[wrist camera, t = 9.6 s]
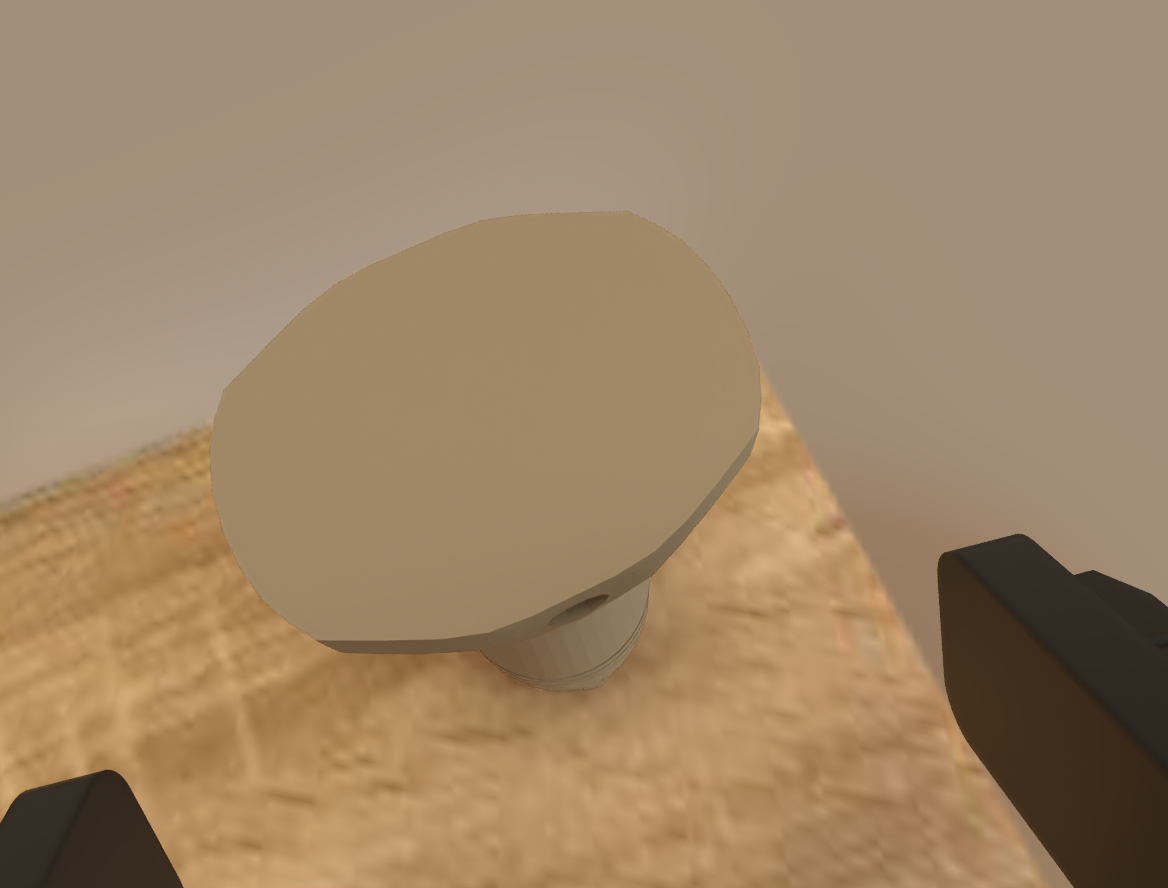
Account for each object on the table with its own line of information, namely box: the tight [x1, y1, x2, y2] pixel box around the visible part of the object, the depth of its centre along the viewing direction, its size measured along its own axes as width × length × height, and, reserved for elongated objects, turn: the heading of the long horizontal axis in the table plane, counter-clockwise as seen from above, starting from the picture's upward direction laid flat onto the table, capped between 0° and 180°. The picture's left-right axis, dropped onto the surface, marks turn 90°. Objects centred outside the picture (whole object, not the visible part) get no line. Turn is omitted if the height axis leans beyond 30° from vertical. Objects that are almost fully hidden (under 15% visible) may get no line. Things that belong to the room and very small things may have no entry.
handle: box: [209, 211, 761, 691], centre depth 18 cm, size 5×6×15 cm
